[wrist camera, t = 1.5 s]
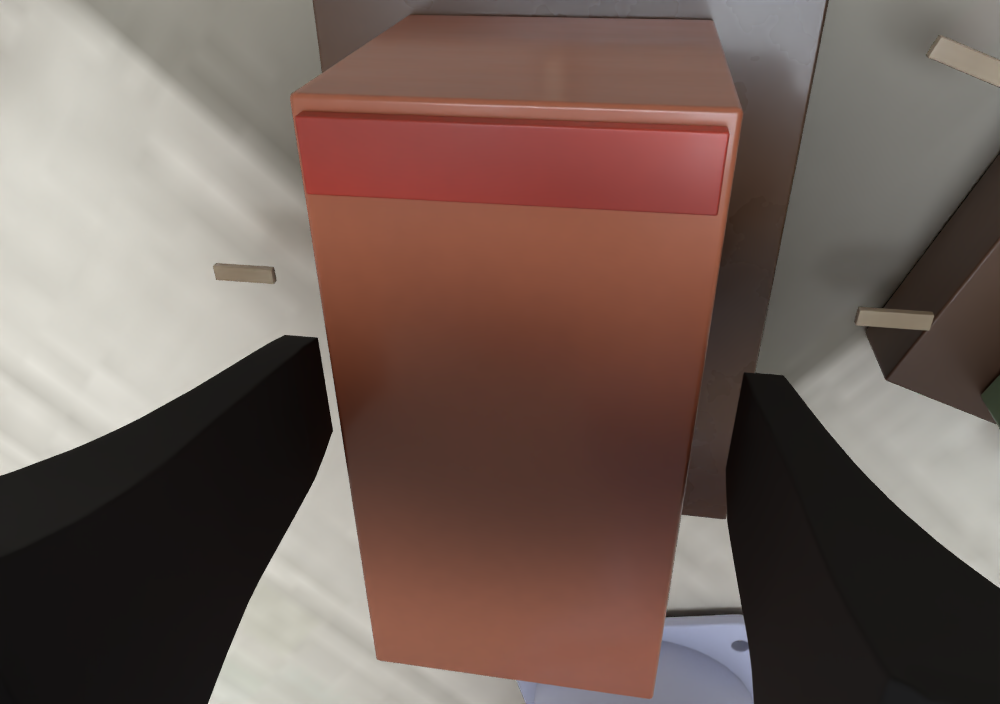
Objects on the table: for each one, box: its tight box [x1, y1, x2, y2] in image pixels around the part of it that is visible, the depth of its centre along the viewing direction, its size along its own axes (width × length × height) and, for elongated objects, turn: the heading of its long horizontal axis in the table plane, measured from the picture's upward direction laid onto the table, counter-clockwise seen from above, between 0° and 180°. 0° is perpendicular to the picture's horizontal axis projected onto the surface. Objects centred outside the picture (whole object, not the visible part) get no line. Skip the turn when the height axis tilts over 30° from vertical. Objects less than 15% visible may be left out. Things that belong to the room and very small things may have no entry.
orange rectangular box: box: [290, 15, 743, 699], centre depth 14 cm, size 11×5×6 cm, turn 1°
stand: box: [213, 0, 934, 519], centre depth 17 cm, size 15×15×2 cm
